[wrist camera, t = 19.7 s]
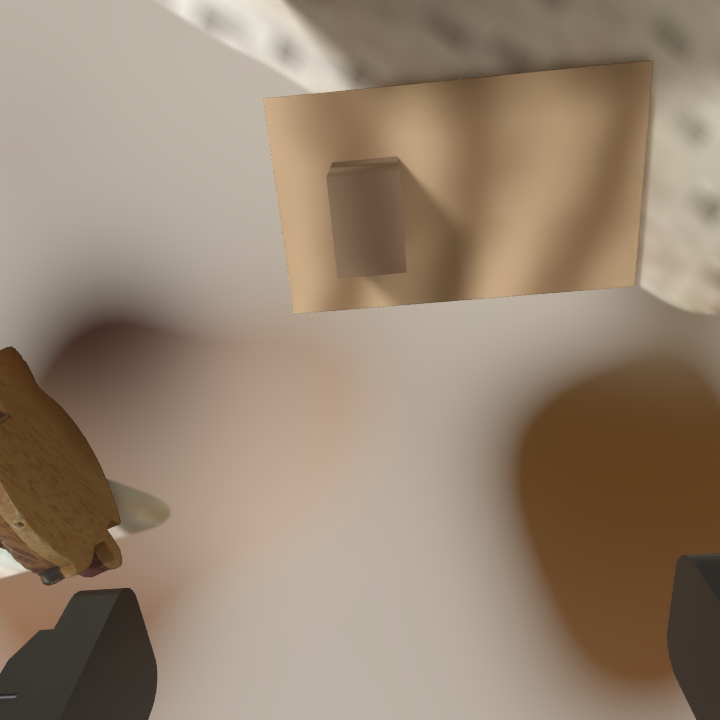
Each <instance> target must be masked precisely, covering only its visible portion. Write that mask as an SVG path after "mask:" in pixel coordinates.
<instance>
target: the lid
mask: <svg viewBox="0 0 720 720" xmlns="http://www.w3.org/2000/svg"><path fill="white" fill-rule="evenodd" d="M652 71H653V60H647V61H637V62H627V63H617V64H607V65H597V66H587V67H577V68H567V69H557V70H547V71H537V72H527V73H517V74H507V75H497V76H487V77H476V78H466V79H456V80H446V81H436V82H426V83H416V84H406V85H396V86H386V87H376V88H366V89H356V90H346V91H336V92H326V93H316V94H313V93H312V94H302V95H292V96H283V97H272V98H265V99H263V101H264V108H265V115H266V122H267V129H268V136H269V143H270V150H271V157H272V164H273V171H274V178H275V185H276V192H277V199H278V206H279V213H280V220H281V227H282V234H283V241H284V248H285V255H286V262H287V269H288V276H289V283H290V290H291V297H292V304H293V311H294V314H298V313H310V312H323V311H335V310H347V309H360V308H373V307H385V306H397V305H409V304H422V303H433V302H446V301H458V300H471V299H483V298H496V297H508V296H520V295H532V294H545V293H558V292H570V291H582V290H594V289H607V288H619V287H631V286H635V274H636V262H637V250H638V238H639V226H640V214H641V203H642V191H643V179H644V167H645V155H646V143H647V131H648V119H649V107H650V95H651V83H652Z"/></svg>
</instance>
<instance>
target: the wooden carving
mask: <svg viewBox="0 0 720 720" xmlns="http://www.w3.org/2000/svg"><path fill="white" fill-rule="evenodd" d="M120 522H121V521H120V517H119V513H118V509H117V506H116V504H115V501H114V498H113V496H112V493H111V491H110V488H109V485H108V482H107V480H106V478H105V475H104V473H103V471H102V469H101V466H100V464H99V462H98V460H97V458H96V456H95V454H94V452H93V450H92V449H91V447H90V445H89V443H88V442H87V440H86V438H85V437H84V435H83V434H82V432H81V431H80V430H79V428H78V427H77V425H76V424H75V423H74V421H73V420H72V419H71V418H70V416H69V415H68V414H67V413H66V412H65V410H64V409H63V408H62V407H61V406H60V405H59V404H58V403H57V402H55V401H54V400H53V399H52V398H51V397H49V396H48V395H47V394H46V393H44V391H42V390H41V389H40V388H39V386H38V385H37V383H36V382H35V379H34V377H33V375H32V373H31V371H30V369H29V366H28V365H27V363H26V362H25V361H24V360H23V358H22V356H21V355H20V354H19V353H18V351H17V350H16V349H15V348H13V347H7V348H4V349H2V350H0V548H3V549H6V550H7V551H8V552H9V553H10V554H11V555H12V556H13V557H14V559H15V560H16V561H17V562H19V563H21V564H22V565H23V566H24V567H25V569H28V570H31V571H32V572H33V573H36V574H37V575H39V576H40V577H41V580H42V582H43V584H45V585H52V584H55V583H57V582H59V581H61V580H63V579H64V578H70V577H73V576H76V575H78V574H79V575H81V576H83V577H94V576H96V575H98V574H100V573H102V572H105V571H107V570H110V569H116V568H118V567H120V566H121V564H122V555H121V551H120V549H119V546H118V545H117V543H116V542H115V540H114V539H113V537H112V536H111V534H110V533H109V532H108V530H107V529H109V528H112V527H114V526H117V525H119V524H120Z"/></svg>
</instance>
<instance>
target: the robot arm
mask: <svg viewBox="0 0 720 720" xmlns="http://www.w3.org/2000/svg"><path fill="white" fill-rule="evenodd" d="M667 644H668V652H669V657H670V661H671V665H672V668H673V671H674V674H675V676H676V679H677V681H678V683H679V685H680V687H681V689H682V691H683V693H684V695H685V697H686V699H687V701H688V703H689V705H690V707H691V709H692V712H693V714H694V716H695V718H696V720H720V553H713V554H712V553H711V554H695V555H682V556H681V557H679V559H678V561H677V563H676V569H675V578H674V585H673V592H672V600H671V607H670V615H669V622H668V630H667ZM156 688H157V665H156V660H155V656H154V653H153V650H152V646H151V643H150V640H149V636H148V633H147V630H146V627H145V623H144V620H143V617H142V614H141V611H140V607H139V604H138V601H137V598H136V595H135V593H134V592H133V590H131V589H130V588H120V589H102V590H86V591H79V592H77V593H76V594H74V596H73V597H72V598H71V600H70V601H69V603H68V605H67V607H66V608H65V610H64V612H63V614H62V616H61V617H60V619H59V621H58V623H57V624H56V626H55V628H54V629H51V630H39V632H37V633H36V634H35V635H34V636H33V637H32V638H31V639H30V640H29V641H28V642H27V643H26V644H25V645H24V646H23V647H22V648H21V649H20V650H19V651H18V652H17V653H15V654H14V655H13V657H11V658H10V659H9V660H8V662H7V663H6V665H5V667H4V668H3V670H2V672H1V673H0V720H148V719H149V716H150V713H151V710H152V707H153V703H154V700H155V694H156Z"/></svg>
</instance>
